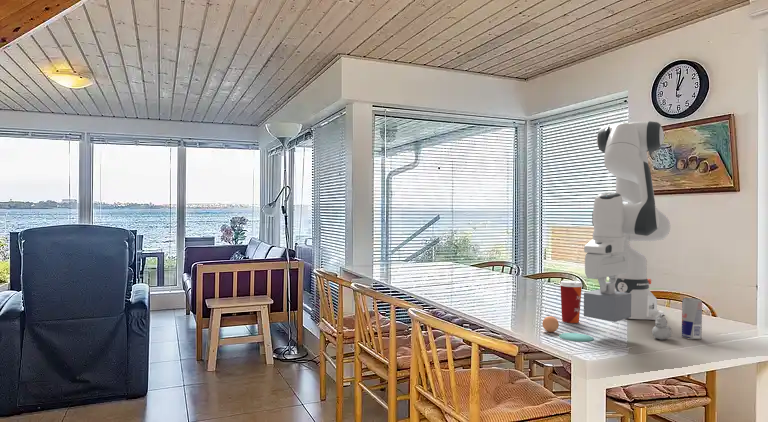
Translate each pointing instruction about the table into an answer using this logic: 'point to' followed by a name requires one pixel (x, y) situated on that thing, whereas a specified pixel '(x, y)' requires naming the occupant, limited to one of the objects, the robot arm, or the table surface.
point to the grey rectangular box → (607, 304)
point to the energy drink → (692, 318)
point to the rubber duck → (661, 329)
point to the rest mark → (576, 337)
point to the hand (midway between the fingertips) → (607, 290)
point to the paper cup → (570, 301)
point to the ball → (550, 324)
